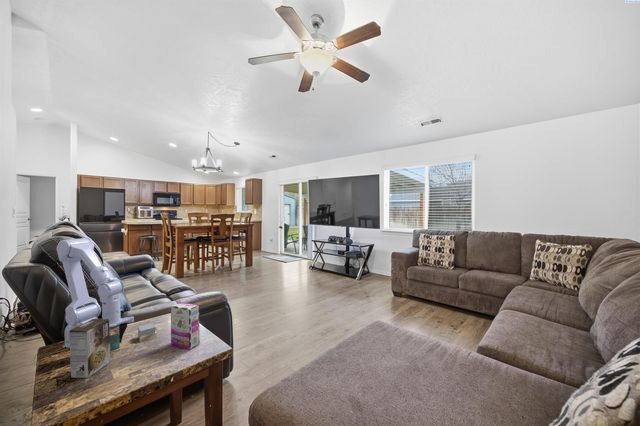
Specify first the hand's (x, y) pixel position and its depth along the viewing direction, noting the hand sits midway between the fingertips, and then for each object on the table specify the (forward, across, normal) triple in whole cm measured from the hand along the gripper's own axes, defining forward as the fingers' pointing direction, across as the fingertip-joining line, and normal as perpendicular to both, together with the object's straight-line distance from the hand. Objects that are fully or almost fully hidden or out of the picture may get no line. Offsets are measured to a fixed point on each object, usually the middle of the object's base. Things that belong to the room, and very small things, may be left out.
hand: (112, 344), depth 104 cm
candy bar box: (+2, +23, -17) cm, 29 cm away
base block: (+2, +12, +1) cm, 12 cm away
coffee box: (+2, -6, -13) cm, 14 cm away
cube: (+1, 0, 0) cm, 1 cm away
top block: (-1, +12, +1) cm, 12 cm away
